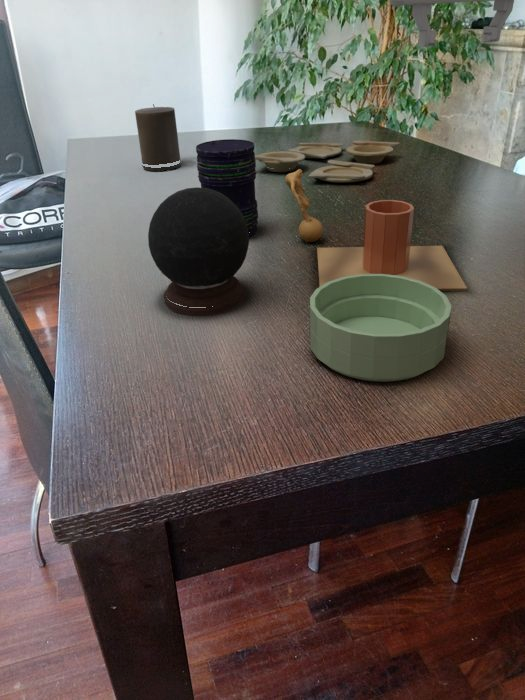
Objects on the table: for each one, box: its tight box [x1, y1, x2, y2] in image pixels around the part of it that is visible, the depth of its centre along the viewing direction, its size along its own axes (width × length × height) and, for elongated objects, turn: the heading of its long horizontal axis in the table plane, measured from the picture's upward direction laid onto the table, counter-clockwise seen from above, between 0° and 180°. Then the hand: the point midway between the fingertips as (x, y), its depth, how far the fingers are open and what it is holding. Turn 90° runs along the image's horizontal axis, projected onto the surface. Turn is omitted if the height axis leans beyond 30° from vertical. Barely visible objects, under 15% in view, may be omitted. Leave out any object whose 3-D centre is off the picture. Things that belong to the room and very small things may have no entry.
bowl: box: [309, 274, 452, 383], centre depth 64 cm, size 15×15×6 cm
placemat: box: [316, 245, 468, 292], centre depth 85 cm, size 20×16×1 cm
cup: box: [362, 199, 415, 275], centre depth 83 cm, size 7×7×9 cm
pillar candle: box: [134, 104, 182, 172], centre depth 142 cm, size 10×10×15 cm
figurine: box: [285, 168, 323, 243], centre depth 93 cm, size 8×6×12 cm
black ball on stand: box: [147, 187, 250, 317], centre depth 75 cm, size 13×13×15 cm
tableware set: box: [255, 139, 401, 184], centre depth 139 cm, size 35×29×4 cm
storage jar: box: [195, 138, 259, 240], centre depth 97 cm, size 10×10×15 cm
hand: (458, 44), depth 74 cm, fingers open, 8 cm apart
